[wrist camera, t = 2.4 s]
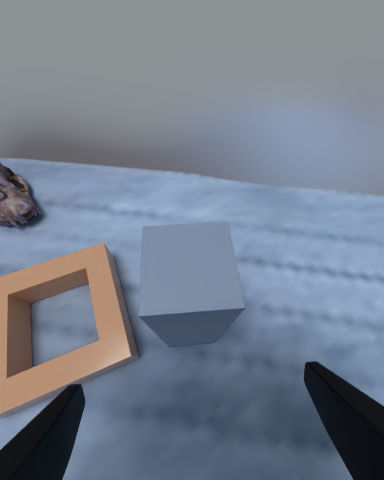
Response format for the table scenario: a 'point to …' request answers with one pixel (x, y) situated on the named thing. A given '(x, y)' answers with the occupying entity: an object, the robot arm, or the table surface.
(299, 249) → the table surface
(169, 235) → the post
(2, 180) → the skull
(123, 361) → the frame
